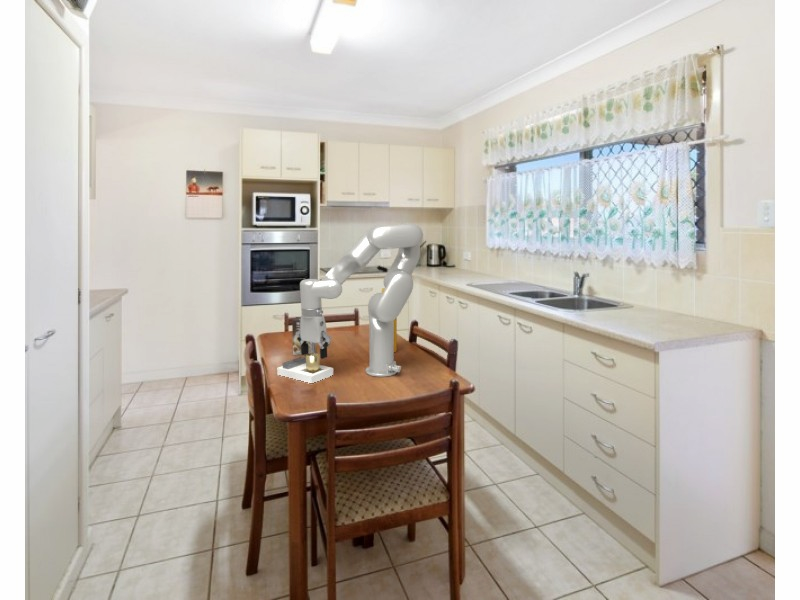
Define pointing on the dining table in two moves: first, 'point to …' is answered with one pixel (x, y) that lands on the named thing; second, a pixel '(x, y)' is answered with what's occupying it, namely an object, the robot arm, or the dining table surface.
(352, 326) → the dining table surface
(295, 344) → the coffee box
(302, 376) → the jig
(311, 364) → the bushing
